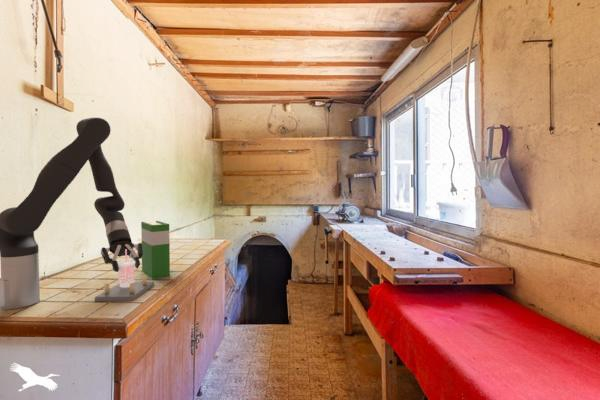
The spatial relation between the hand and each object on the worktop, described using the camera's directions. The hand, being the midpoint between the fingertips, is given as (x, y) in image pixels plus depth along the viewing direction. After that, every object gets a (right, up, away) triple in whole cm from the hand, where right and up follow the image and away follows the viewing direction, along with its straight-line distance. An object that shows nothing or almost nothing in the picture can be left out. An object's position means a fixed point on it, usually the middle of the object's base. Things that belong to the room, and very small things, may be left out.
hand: (127, 268), depth 105 cm
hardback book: (-3, -9, +27) cm, 28 cm away
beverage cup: (-1, -7, +1) cm, 7 cm away
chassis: (-1, -10, +1) cm, 10 cm away
